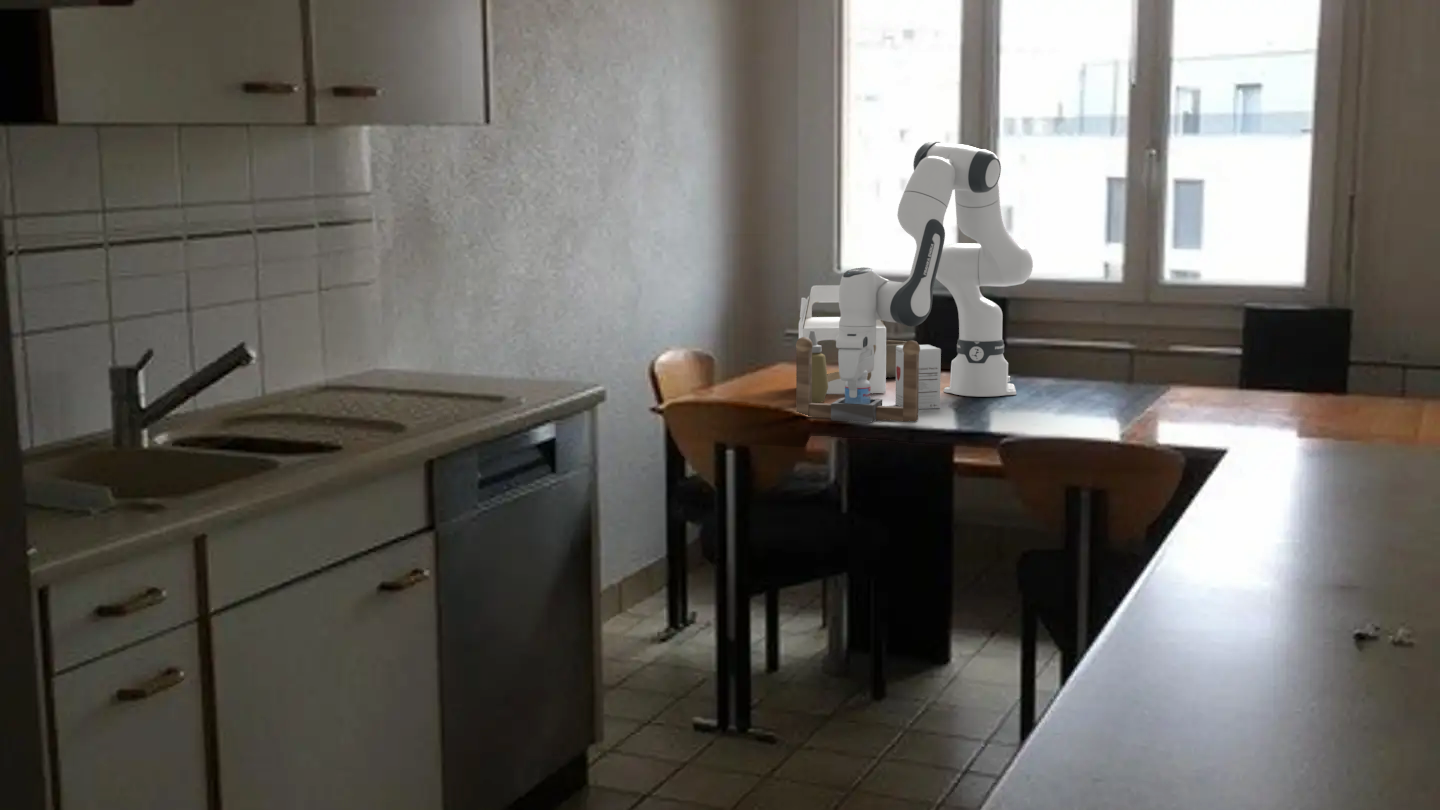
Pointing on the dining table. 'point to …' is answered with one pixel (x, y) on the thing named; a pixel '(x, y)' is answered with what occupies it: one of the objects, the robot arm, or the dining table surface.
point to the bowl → (891, 357)
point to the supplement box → (922, 376)
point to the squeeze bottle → (818, 371)
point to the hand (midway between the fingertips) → (857, 395)
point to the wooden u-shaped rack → (857, 411)
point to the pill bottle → (859, 391)
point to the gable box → (830, 330)
